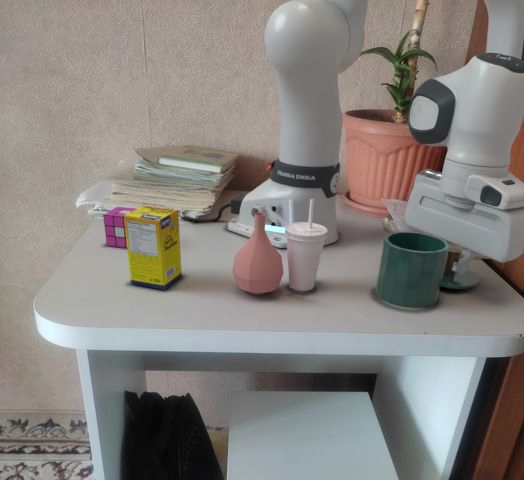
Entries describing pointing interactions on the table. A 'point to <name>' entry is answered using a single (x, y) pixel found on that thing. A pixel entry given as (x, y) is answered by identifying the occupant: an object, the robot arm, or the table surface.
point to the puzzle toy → (116, 226)
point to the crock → (411, 269)
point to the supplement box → (153, 246)
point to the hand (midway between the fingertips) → (449, 268)
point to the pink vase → (258, 262)
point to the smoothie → (304, 251)
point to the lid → (455, 279)
